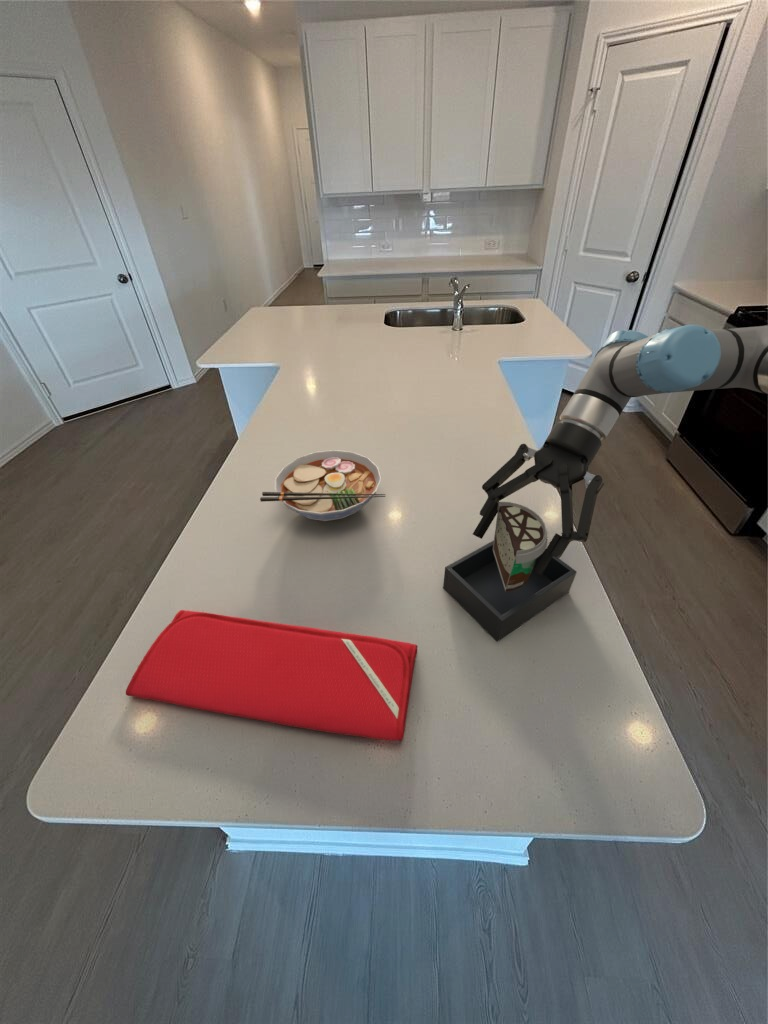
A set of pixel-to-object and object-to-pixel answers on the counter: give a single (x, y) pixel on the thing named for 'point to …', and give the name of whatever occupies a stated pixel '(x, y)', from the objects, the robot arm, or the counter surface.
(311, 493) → the ramen bowl
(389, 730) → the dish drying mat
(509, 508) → the halved ice cream tub
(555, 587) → the bin
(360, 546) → the counter surface
